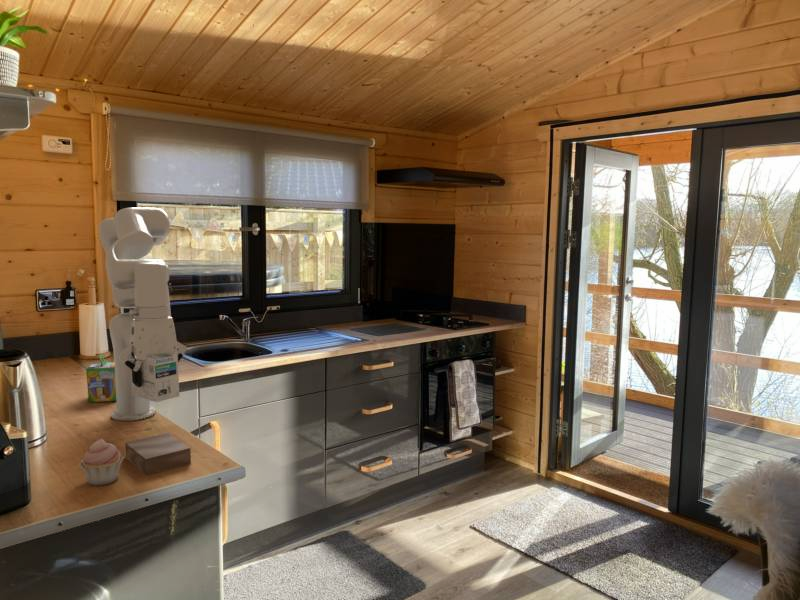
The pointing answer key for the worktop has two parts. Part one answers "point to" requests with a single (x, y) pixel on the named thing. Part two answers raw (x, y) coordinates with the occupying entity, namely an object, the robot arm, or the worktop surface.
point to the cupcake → (101, 463)
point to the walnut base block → (157, 453)
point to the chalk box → (101, 381)
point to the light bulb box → (158, 378)
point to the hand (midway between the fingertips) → (154, 382)
